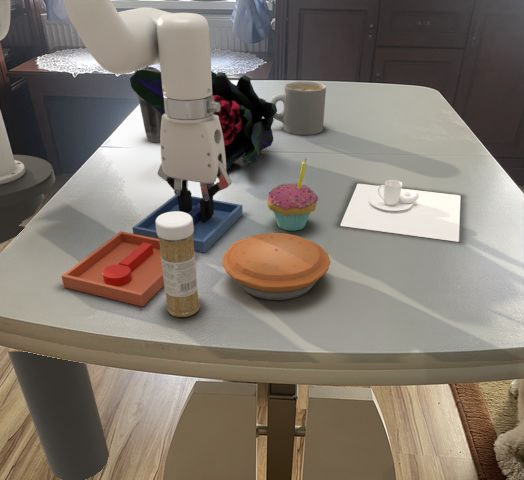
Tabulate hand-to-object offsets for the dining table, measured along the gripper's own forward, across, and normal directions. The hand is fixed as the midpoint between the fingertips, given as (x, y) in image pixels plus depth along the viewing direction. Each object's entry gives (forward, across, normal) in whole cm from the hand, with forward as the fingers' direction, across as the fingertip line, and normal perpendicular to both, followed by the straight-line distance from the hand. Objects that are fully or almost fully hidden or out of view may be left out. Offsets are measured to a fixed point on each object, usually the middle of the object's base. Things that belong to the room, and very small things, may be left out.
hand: (196, 216), depth 96 cm
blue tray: (+1, 0, +2) cm, 3 cm away
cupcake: (+1, -16, -4) cm, 17 cm away
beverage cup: (+1, +29, -36) cm, 46 cm away
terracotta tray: (+1, +1, +20) cm, 20 cm away
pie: (+1, -20, +14) cm, 24 cm away
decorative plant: (+1, +7, -26) cm, 27 cm away
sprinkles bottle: (+1, -11, +26) cm, 28 cm away
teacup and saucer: (+1, -33, -18) cm, 38 cm away
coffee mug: (+1, +1, -56) cm, 57 cm away
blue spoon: (0, 0, +2) cm, 2 cm away
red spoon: (0, +1, +20) cm, 20 cm away
